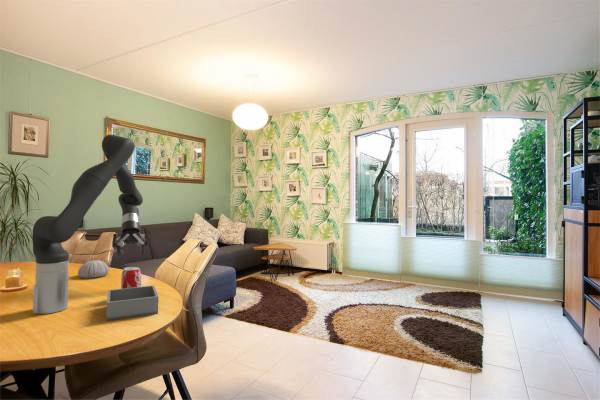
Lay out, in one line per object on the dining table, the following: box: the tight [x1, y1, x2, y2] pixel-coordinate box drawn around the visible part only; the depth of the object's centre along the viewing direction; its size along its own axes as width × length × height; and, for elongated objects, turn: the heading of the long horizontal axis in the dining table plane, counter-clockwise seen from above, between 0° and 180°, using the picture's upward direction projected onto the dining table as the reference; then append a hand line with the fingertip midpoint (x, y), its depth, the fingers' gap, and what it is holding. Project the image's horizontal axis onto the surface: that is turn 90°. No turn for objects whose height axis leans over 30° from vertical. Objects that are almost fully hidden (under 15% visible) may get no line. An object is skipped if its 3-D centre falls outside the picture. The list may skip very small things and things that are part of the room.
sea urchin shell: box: [77, 259, 110, 279], centre depth 158 cm, size 13×14×8 cm
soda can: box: [120, 266, 142, 289], centre depth 127 cm, size 7×7×12 cm
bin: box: [105, 285, 159, 322], centre depth 114 cm, size 16×16×6 cm
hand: (130, 253), depth 136 cm, fingers open, 8 cm apart
